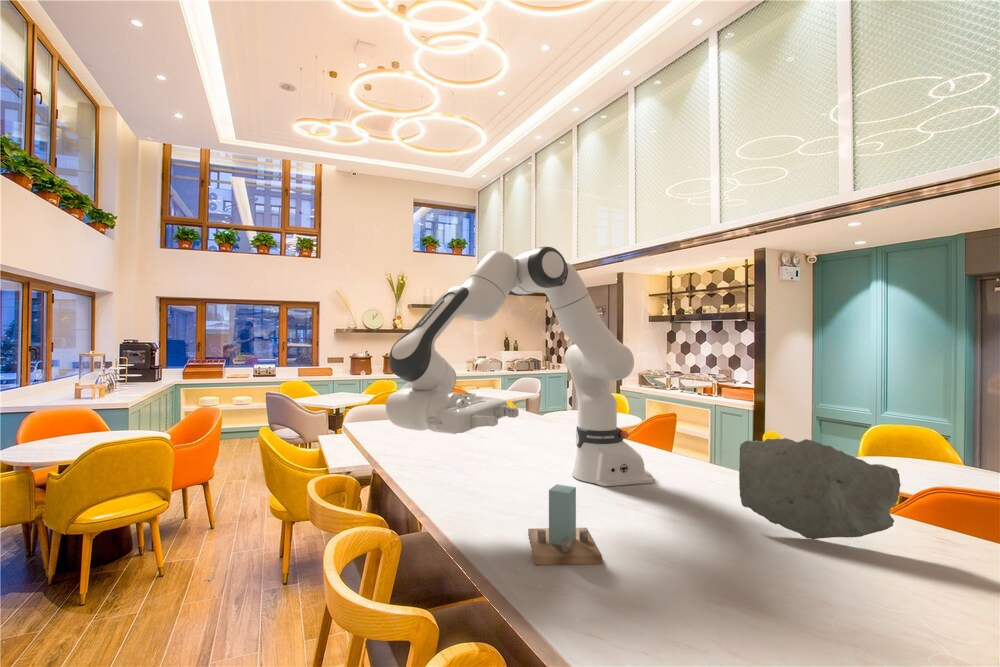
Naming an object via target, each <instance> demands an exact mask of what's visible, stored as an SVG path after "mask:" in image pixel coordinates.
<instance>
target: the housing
mask: <svg viewBox="0 0 1000 667" xmlns="http://www.w3.org/2000/svg"><path fill="white" fill-rule="evenodd" d="M527 532H528V533H527V535H528V536H529V537H528V541H529V540H530V541H529V545H530V544H531V545H530V550H531V549H532V550H531V552H532V553H533V554H532V557H534V558H533V562H534V565H535V566H547V565H546V564H549V565H548V566H550V564H552V565H553V566H554V565H556V566H557V565H558V564H560V565H561V564H562V565H594V564H595V565H597V564H600V565H602V564H603V555H602V553H601V551H600V549H599V548H598V545H597V544H596V542H595V540H594V538H593V537H592V535H591V533H590V531H589V529H588V527H576V540H575V541H574V542H573V543H572V544H571V539H569V538H563V539H562V546H560V545H556V544H551V543H549V527H547V528H546V527H545V528H528V531H527ZM537 564H539V565H537ZM542 564H543V565H542ZM552 565H551V566H552ZM560 565H559V566H560Z"/></svg>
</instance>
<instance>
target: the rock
mask: <svg viewBox="0 0 1000 667" xmlns="http://www.w3.org/2000/svg"><path fill="white" fill-rule="evenodd" d="M739 446H740V447H739V459H738V460H739V462H738V464H739V465H738V466H739V467H738V468H739V469H738V471H739V473H738V474H739V476H738V481H739V485H738V487H739V488H738V489H739V498H740V503H741V505H742V507H744V508H748V509H751V511H752V512H754V513H755V514H757V515H759V516H762V517H763V518H765V520H768V521H769V522H770V523H772V524H774V525H779V526H781V527H782V528H785V529H787V530H789V531H791V532H795V533H797V534H800V535H801V536H802V537H804V538H806V539H809V540H820V539H828V538H829V539H830V538H861V537H864V536H867V535H872V534H875V533H879V532H883V531H886V530H888V529H890V528H891V527H893V526H894V523H895V520H894V518H893V517H892V515H891V509H892V508H893V507H895V505H896V504H897V503H898V501H899V496H900V489H901V486H902V485H901V484H902V483H901V480H900V473H899V470H898V469H897V468H893V467H890V466H888V465H885V464H882V463H880V464H878V463H876V464H875V463H874V464H870V463H868V462H866V461H865V460H863V459H860V458H857V457H856V456H853V455H850V454H847V453H845V452H844V451H843V450H838V449H836V448H834V447H833V446H831V445H827V444H826V445H825V444H822V443H821V442H817V441H814V440H812V439H807V438H804V439H803V440H801V441H795V440H793V439H789V438H786V437H784V438H766V439H765V440H763V441H759V440H757V439H756V440H754V441H753V440H745V441H743V442H742V443H740V445H739Z"/></svg>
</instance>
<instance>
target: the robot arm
mask: <svg viewBox="0 0 1000 667" xmlns="http://www.w3.org/2000/svg"><path fill="white" fill-rule="evenodd" d="M540 291H542V292H543V293H544V294H545V295H546V296H547V300H548V303H549V304H550V306H551V310H552V311H553V313H554V316H555V317H556V320H557V322H558V325H559V327H560V328H561V331H562V332H563V334H564V335H565V336H566V337H568V338H569V339H570V340H571V341H572V343H573V344H571V345H570V346H569V347H568V348H567V349H566V351H565V352H564V357H563V358H564V359H563V360H564V364H565V368H566V369H567V370H568V371H569V373H570V375H571V379H572V381H573V385H574V389H575V393H576V401H577V426H576V431H575V444H576V447H577V448H576V456H575V462H574V467H573V469H572V475H571V476H572V477H573V478H575V479H577V480H579V481H583V482H586V483H591V484H595V485H599V486H602V487H614V486H626V485H639V484H651V483H653V482H654V476H653V474H652V473H651V472H650V471H649V470H647V469H646V468H645V463H644V459H643V457H642V455H641V454H640V453H639V451H637V450H635V449H634V448H632V446H631V445H629V444H628V443H627V442H625V441H624V440H627V439H628V438H629V437H630V433H629V432H627V431H626V430H623V429H620V428H619V427H618V426H617V424H618V420H617V419H618V416H617V415H618V411H617V409H618V404H617V399H616V398H615V396H614V394H613V393H612V392H611V390H610V386H609V384H608V383H609V382H614V381H615V382H616V381H622V380H624V379H626V378H628V377H629V376H630V375H631V373H632V372H633V369H634V366H635V359H634V358H635V357H634V354H633V353H632V352H633V351H631V349H629V347H628V346H626V345H625V344H623V343H622V342H621V341H619V339H617V337H616V336H615V335H614V334H613V332H612V331H611V330H610V329H609V328H608V327H607V325H606V324H605V322H604V321H603V319H602V318H601V316H600V314H599V312H598V310H597V308H596V305H595V304H594V302H593V299H592V297H591V296H590V293H589V291H588V289H587V287H586V285H585V283H584V281H583V279H582V277H581V275H580V274H579V272H578V271H577V270H576V268H575V266H573V265H572V264H571V263H569V262H567V261H566V260H565V257H564V255H563V254H562V253H561V252H560V251H559V250H558V249H556V248H554V247H553V246H539V247H536V248H534V249H531V250H527V251H524V252H522V253H520V254H519V255H518V256H515V257H513V256H512V255H510V254H509V253H507V252H505V251H502V250H492V251H491V252H488V253H487V254H486V255H485V256H484V257H483V258H482V259H481V260H480V262H478V264H477V265H476V266H475V267H474V268H473V270H472V271H471V272H470V274H469V275H468V277H467V278H466V280H465V281H464V282H463V283H462V284H461V285H456V286H455V285H454V286H452V287H450V288H449V289H448V290H446V291H445V292H444V293H443V294H442V295H440V297H439V298H438V299H437V300H436V302H434V304H433V305H432V306H431V307H430V308H429V309H428V310H427V311H426V313H424V315H423V316H422V317H421V318H420V319H418V321H417V322H416V323H415V325H414V326H412V328H410V330H409V331H408V332H407V333H405V334H404V335H403V336H401V337H400V338H399V339H398V340H396V342H395V343H394V344H393V345H392V346H391V349H390V352H389V356H388V366H389V369H390V371H391V373H393V374H394V375H395V376H397V377H398V378H400V379H401V380H402V381H404V382H406V383H405V384H403V385H404V386H402V387H401V388H400V389H398V390H396V391H393V392H392V393H390V394H389V395H388V396H387V399H386V402H385V412H386V415H387V418H388V420H389V421H390V422H391V423H392V424H393V425H394V426H396V427H399V428H402V429H406V430H413V431H427V430H428V431H431V432H434V433H441V434H450V435H456V434H463V433H467V432H468V431H471V430H475V429H476V428H480V427H481V428H482V427H496V426H497V425H499V419H502V418H505V417H508V418H517V417H519V415H520V414H519V412H520V411H519V408H516V407H510V406H508V402H507V400H505V399H504V398H503V399H502V398H496V397H489V396H478V395H477V394H476V393H470V392H469V393H468V392H467V393H461V392H453V391H454V388H455V386H456V383H457V373H456V371H455V369H454V368H453V366H452V365H450V363H449V362H448V361H447V359H445V358H444V357H442V355H441V354H440V353H439V351H438V350H436V348H435V343H436V341H437V340H438V338H439V337H440V335H441V334H443V332H444V331H445V330H446V329H447V328H448V326H449V325H450V324H451V323H452V322H453V321H454V319H455V318H457V317H459V316H460V317H463V318H465V319H468V320H471V321H476V322H484V321H488V320H491V319H492V318H494V317H495V316H496V315H497V313H498V312H499V311H500V309H501V308H502V306H503V305H504V302H506V299H507V298H508V296H509V295H511V296H525V295H531V294H532V295H533V294H536V293H539V292H540Z"/></svg>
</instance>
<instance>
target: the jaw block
mask: <svg viewBox="0 0 1000 667" xmlns="http://www.w3.org/2000/svg"><path fill="white" fill-rule="evenodd" d="M548 528H549V543H551V544H556V545H560V546H562V539H563V538H569V539H571V544H572V543H573V542H574V541H575V540H576V528H577V487H576V486H571V485H570V486H569V485H564V484H563V485H562V484H559V483H557V484H555V485H553V486H552V487H551V488H549V490H548Z"/></svg>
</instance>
